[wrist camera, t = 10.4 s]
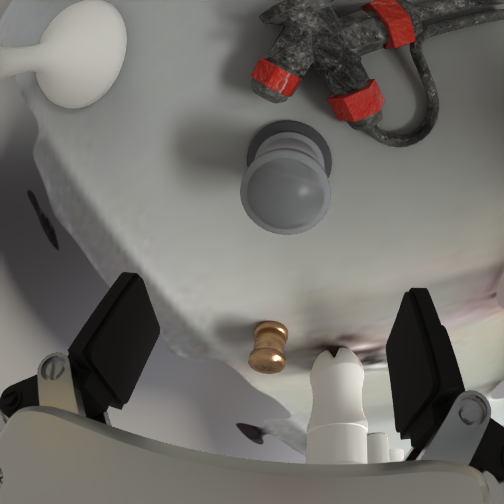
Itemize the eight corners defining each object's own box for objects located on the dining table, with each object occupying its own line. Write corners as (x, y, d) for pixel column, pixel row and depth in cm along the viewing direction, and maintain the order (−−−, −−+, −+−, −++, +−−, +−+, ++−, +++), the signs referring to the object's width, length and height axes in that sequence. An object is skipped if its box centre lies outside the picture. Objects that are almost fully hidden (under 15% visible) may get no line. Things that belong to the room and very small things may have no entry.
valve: (308, 172, 28) (220, 36, 20) (511, 87, 18) (463, -43, 10) (318, 208, 23) (206, 34, 15) (550, 106, 13) (502, -49, 5)
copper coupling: (288, 321, 36) (285, 354, 32) (287, 343, 38) (284, 374, 34) (253, 319, 36) (247, 351, 32) (255, 341, 39) (249, 372, 35)
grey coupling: (325, 132, 23) (333, 154, 17) (321, 196, 26) (326, 237, 20) (254, 130, 24) (238, 150, 18) (256, 193, 27) (242, 232, 21)
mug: (355, 436, 54) (355, 485, 44) (384, 429, 51) (386, 479, 41) (368, 447, 58) (368, 490, 48) (394, 441, 55) (396, 485, 45)
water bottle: (335, 377, 41) (329, 539, 21) (300, 360, 40) (280, 538, 19) (372, 355, 37) (380, 534, 17) (336, 335, 36) (332, 538, 15)
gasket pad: (332, 122, 22) (332, 122, 22) (329, 200, 26) (329, 202, 26) (245, 121, 24) (244, 122, 23) (250, 198, 28) (249, 200, 27)
